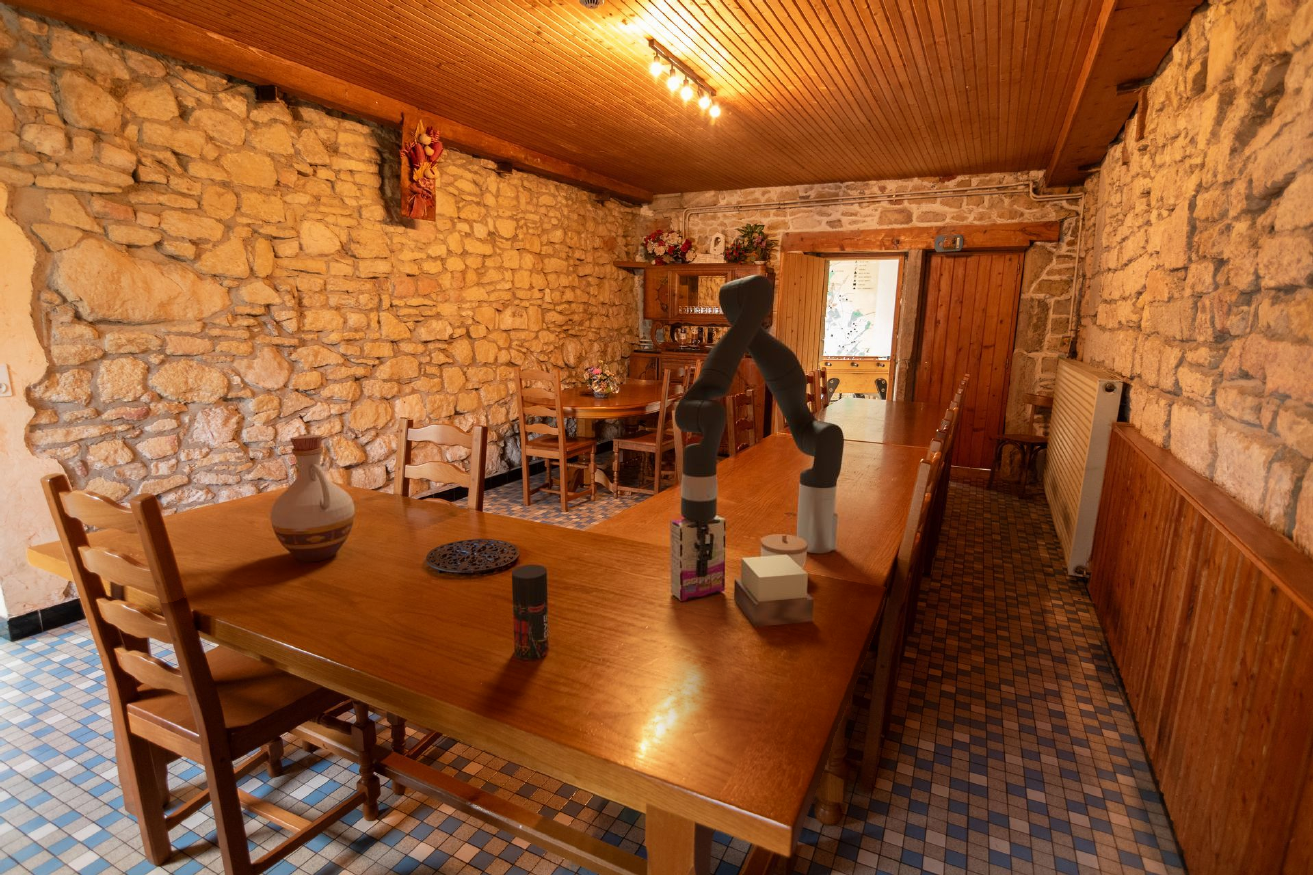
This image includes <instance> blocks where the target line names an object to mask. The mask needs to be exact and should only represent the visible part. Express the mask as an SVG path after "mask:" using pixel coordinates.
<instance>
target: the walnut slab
mask: <svg viewBox="0 0 1313 875" xmlns="http://www.w3.org/2000/svg"><path fill="white" fill-rule="evenodd" d="M733 587H734V591H733V600H734V602H735V603H736V604H737V605H738V607H739V609H740V610H741V611H742V613H743V614H744V616H746V617H747V619H748V620H749V621H750V623H751V624H752V625H753V626H754V627H757V628H758V627H766V626H768V627H769V626H774V625H775V626H776V625H779V626H780V625H785V624H786V625H788V624H795V623H798V624H800V623H806V622H807V623H808V622H813V614H814V602H815V601H814V598H813V597H812V596H811V595H810V594H809V593H808V592H807V597H806V598H796V599H785V600H773V601H762V602H758V601H757V600H756V598H755V597H754V596H753V595H752V594H751V592H750V591H749V590H748V589H747V588H746V586H745V585H744V584H743V583H742V582H741V578H734V586H733Z"/></svg>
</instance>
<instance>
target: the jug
mask: <svg viewBox="0 0 1313 875" xmlns="http://www.w3.org/2000/svg"><path fill="white" fill-rule="evenodd" d="M289 440H290V443H291V444H292V446H293V448H291V452H292V455H294V457H295V459H296V462H297V467H298V476H297V478H296V479H295V480H294V481H293V482H292V483H291V484H290V485H289V486H288V488H286V489H285V490H284V491H283V492H282V493H281V494H280V495H279V496H278V497H277V498H276V499H275V501H274V503H273V505H272V507H271V510H270V516H269V517H270V522H271V523H270V524H271V528H272V529H273V532H274V533H275V536H276V538H277V540H278V542H280V544H281V546H282V547H283V548H284V549H286V550H287V551H288V552H289V553H290V554H291V555H293V556H294V557H296V558H297V559H298V560H299V561H302V562H307V563H308V562H320V561H323V560H327V559H330V558H332V557H334V556H336V554H337V553H338V552H339V551H340V549H341V548H342V546H343V545H344V544H345V542H346V540H347V539H348V538H349V536H350V534H351V532H352V531H351V530H352V528H353V525H354V521H355V520H354V519H355V503H354V500H353V498H352V497H351V496H350V494H349V493H348V492H347V491H346V490H345V489H343V488H342V487H340V486H339V485H337V484H336V483H334V482H333V481H331V480H330V479H329V478H327V476H326V475H325V472H324V470H323V469H322V467H321V459H322V458H321V457H322V453H323V452H324V446H322V440H323V434H310V435H309V434H308V435H299V436H293V437H290V438H289Z"/></svg>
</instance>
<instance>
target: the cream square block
mask: <svg viewBox="0 0 1313 875" xmlns="http://www.w3.org/2000/svg"><path fill="white" fill-rule="evenodd" d="M740 567H741V570H740V579H741V582H742V583H743V584H744V585H745V586H746V588H747V589H748V590H749V591H750V592H751V594H752V595H753V596H754V597H755V598H756V600H757V601H758V602H762V601H773V600H785V599H796V598H806V597H807V593H808V576H809V573H808V572H807V571H806V570H805V569H804V568H801V567H800V566H799V565H798V564H797V563H796V562H794V561H793V560H792V559H791V558H790V557H789V556H788V555H776V556H762V557H761V556H752V557H751V556H750V557H741V566H740Z"/></svg>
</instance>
